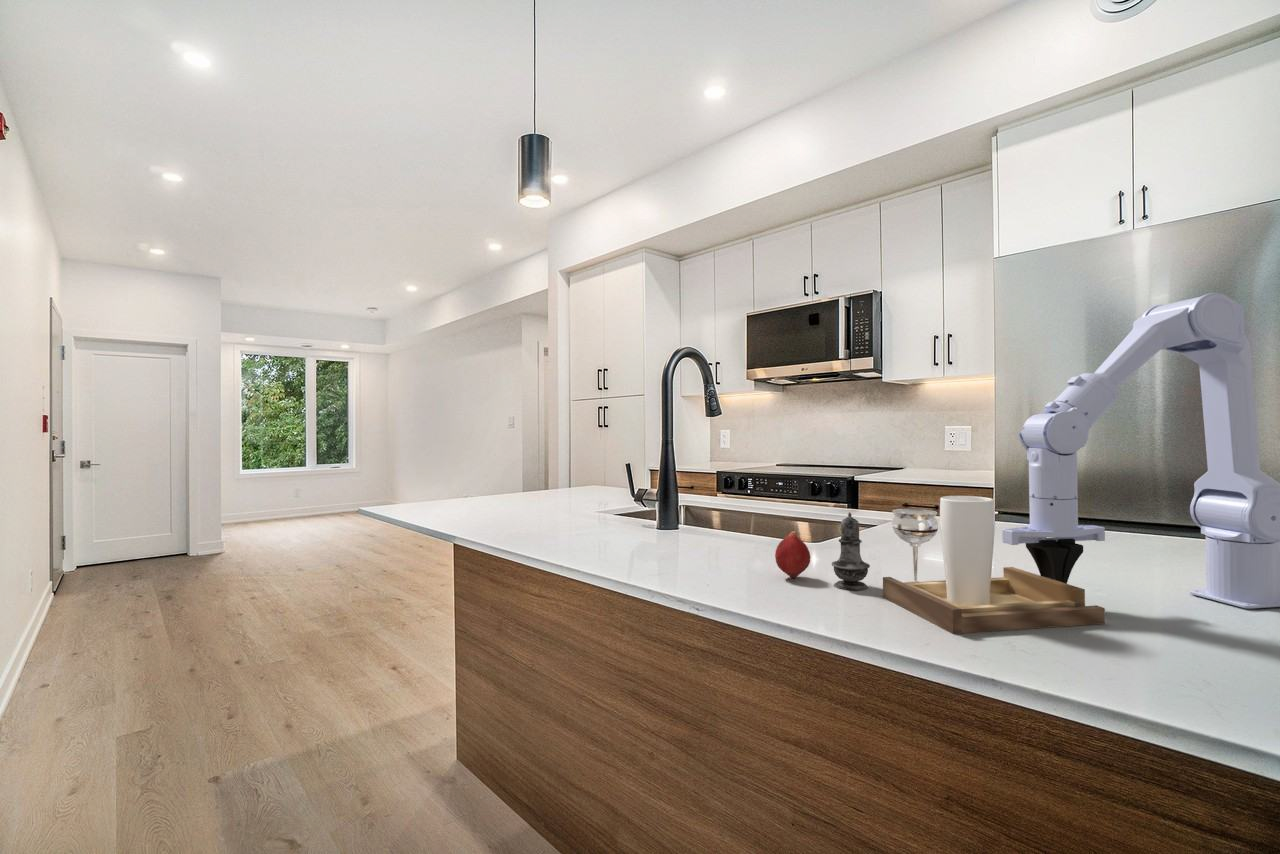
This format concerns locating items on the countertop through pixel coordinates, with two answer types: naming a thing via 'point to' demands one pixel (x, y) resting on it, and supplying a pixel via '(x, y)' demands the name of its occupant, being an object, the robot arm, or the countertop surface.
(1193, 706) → the countertop surface
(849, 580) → the salt shaker
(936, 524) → the wineglass
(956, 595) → the drinking glass
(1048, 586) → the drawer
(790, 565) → the onion
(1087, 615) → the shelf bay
